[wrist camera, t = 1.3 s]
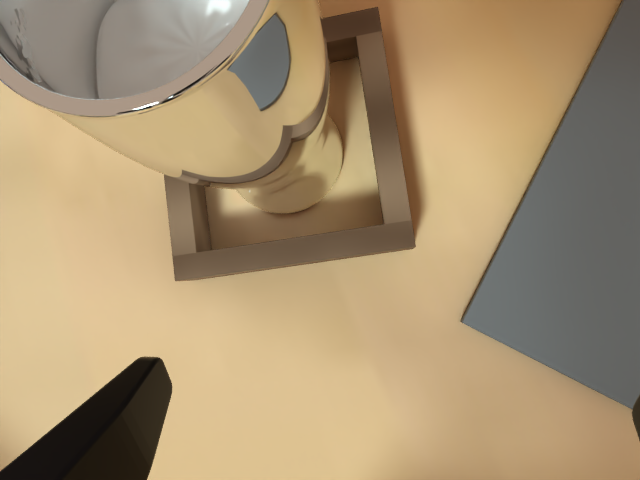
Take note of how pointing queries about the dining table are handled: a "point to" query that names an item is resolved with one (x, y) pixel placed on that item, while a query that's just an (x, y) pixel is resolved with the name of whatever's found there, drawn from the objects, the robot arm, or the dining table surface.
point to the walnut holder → (394, 235)
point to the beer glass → (188, 87)
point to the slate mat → (579, 234)
